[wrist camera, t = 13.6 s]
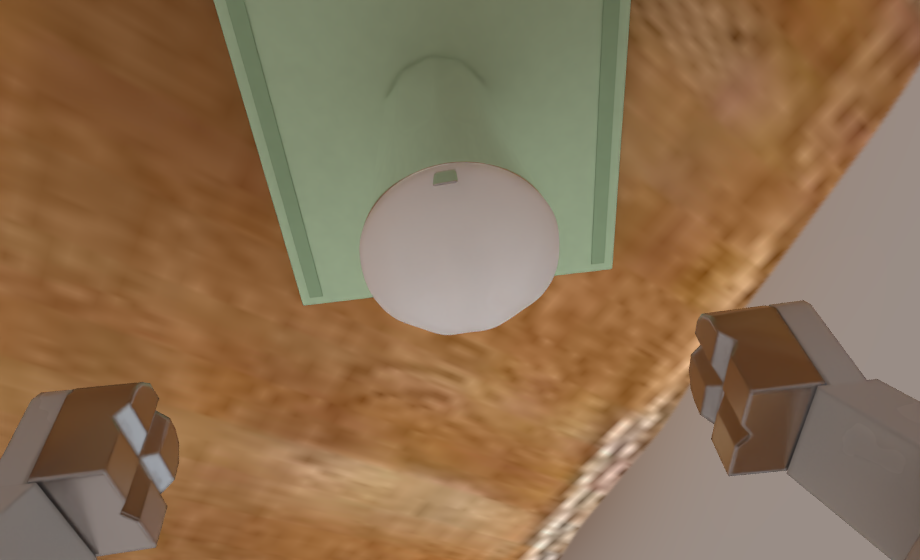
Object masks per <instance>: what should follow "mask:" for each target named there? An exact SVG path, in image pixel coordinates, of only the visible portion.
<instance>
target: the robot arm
mask: <svg viewBox="0 0 920 560" xmlns="http://www.w3.org/2000/svg"><path fill="white" fill-rule="evenodd" d="M695 334H696V336H697V338H698V340H699V342H700V344H701V345H700V346H699V347H698V348H697V349H696V350H695V351H694V352H693V353H692V354H691V359H690V367H689V376H690V386H691V391H692V394H693V398H694V401H695V403H696V406H697V408H698V410H699V413H700V415H701V416H703V417H704V418H706V419H707V420H709V421H710V422H712V423H713V424H714V429H713V434H712V438H711V439H712V442H713V443H714V446H715V448H716V450H717V452H718V455H719V457H720V459H721V461H722V463H723V465H724V468H725V469H726V472H727V474H728V476H736V475H746V474H756V473H767V472H776V471H787V474H788V475H789V476H790V477H792V478H793V479H794V480H795V481H797V482H798V483H799V484H800V485H801V486H803V487H804V488H805V489H806V490H807V491H809V492H810V493H811V494H812V495H813V496H815V497H816V498H817V499H818V500H819V501H821V502H822V503H823V504H824V505H826V506H827V507H828V508H829V509H830V510H832V511H833V512H834V513H835V514H836V515H838V516H839V517H840V518H841V519H843V520H844V521H845V522H846V523H847V524H849V525H850V526H851V527H852V528H854V529H855V530H856V531H857V532H858V533H860V534H861V535H862V536H863V537H864V538H866V539H867V540H868V541H869V542H871V543H872V544H873V545H874V546H875V547H877V548H878V549H879V550H880V551H881V552H883V553H884V554H885V555H886V556H888V557H889V558H890V559H891V560H920V402H919V401H917V400H916V399H913V398H912V397H910V396H908V395H906V394H904V393H902V392H901V391H899V390H897V389H895V388H893V387H891V386H889V385H887V384H885V383H884V382H882V381H880V380H878V379H874V380H866V378H865V377H864V376H863V374H862V373H861V372H860V371H859V369H858V368H857V366H856V365H855V364H854V362H853V361H852V359H851V358H850V357H849V355H848V354H847V353H846V351H845V350H844V349H843V347H842V346H841V345H840V343H839V342H838V340H837V339H836V338H835V336H834V335H833V334H832V332H831V331H830V330H829V328H828V327H827V326H826V324H825V323H824V322H823V320H822V319H821V317H820V316H819V315H818V313H817V312H816V311H815V309H814V308H813V307H812V305H811V304H809V303H808V302H805V301H804V300H803V301H795V302H787V303H780V304H772V305H769V306H758V307H750V308H742V309H735V310H727V311H719V312H712V313H704V314H701V316H700V317H699V319H698V321H697V326H696V331H695ZM158 400H159V397H158V396H157V394H156V392H155V391H154V389H153V387H152V386H151V384H150V383H144V382H139V383H128V384H118V385H108V386H97V387H87V388H77V389H74V390H63V391H53V392H42V393H40V394H39V395H37V396H36V397H35V398H33V399H32V400H31V402H30V403H29V405H28V407H27V409H26V411H25V413H24V415H23V417H22V419H21V421H20V423H19V425H18V427H17V428H16V430H15V432H14V434H13V436H12V438H11V440H10V442H9V444H8V446H7V448H6V450H5V452H4V454H3V456H2V457H1V459H0V560H97V558H96V556H103V555H109V554H116V553H123V552H129V551H136V550H142V549H149V548H155V547H156V546H157V542H158V539H159V535H160V531H161V528H162V524H163V520H164V517H165V513H166V510H167V505H166V503H165V501H164V499H163V498H162V496H161V493H162V492H163V491H164V490H165V489H166V488H167V487H168V486H169V485H170V484H171V483H172V482H173V481H174V480H175V476H176V472H177V468H178V464H179V441H178V437H177V433H176V429H175V427H174V425H173V423H172V421H171V420H170V418H169V417H167V416H165V415H163V414H161V413H159V412H158V411H156V407H157V404H158Z"/></svg>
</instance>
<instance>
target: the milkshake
mask: <svg viewBox="0 0 920 560" xmlns="http://www.w3.org/2000/svg"><path fill="white" fill-rule="evenodd" d="M359 252H360V262H361V268H362V272H363V276H364V279H365V282H366V284H367V286H368V289H369V291H370V292H371V294H372V296H373V297H374V298H375V300H376V301H377V302H378V304H379V305H380V306H381V307H382V308H383V309H384V310H385V311H386V312H387V313H388V314H390V315H391V316H392V317H394V318H396V319H397V320H399V321H401V322H404V323H407V324H409V325H413V326H416V327H419V328H422V329H425V330H428V331H431V332H434V333H437V334H442V335H454V334H460V333H467V332H476V331H484V330H488V329H491V328H494V327H496V326H498V325H500V324H502V323H504V322H506V321H507V320H509V319H510V318H512V317H513V316H515V315H516V314H518V313H519V312H521V311H522V310H523V309H525V308H526V307H528V306H529V305H531V304H532V303H533V302H535V301H536V300H537V299H538V298H539V297H540V296H541V295H542V294H543V293H544V292H545V291H546V289H547V288H548V286H549V285H550V283H551V281H552V279H553V277H554V275H555V272H556V269H557V265H558V260H559V230H558V225H557V221H556V218H555V215H554V213H553V211H552V209H551V208H550V206H549V205H548V203H547V202H546V200H545V198H544V197H543V195H542V193H541V191H540V189H539V188H538V186H537V184H536V182H535V181H534V179H533V177H532V175H531V173H530V172H529V170H528V168H527V166H526V165H525V163H524V161H523V159H522V157H521V155H520V153H519V151H518V149H517V147H516V145H515V143H514V141H513V139H512V137H511V134H510V132H509V130H508V128H507V126H506V124H505V122H504V120H503V118H502V116H501V114H500V112H499V110H498V108H497V106H496V104H495V102H494V100H493V98H492V96H491V94H490V92H489V90H488V88H487V86H486V84H485V83H484V82H483V81H482V80H481V79H480V78H479V77H478V76H477V75H476V74H475V73H474V72H473V71H472V70H471V69H470V68H469V67H468V66H467V65H466V64H465V63H464V62H463V61H461V60H454V59H446V58H440V57H433V56H429V57H427V58H425V59H423V60H421V61H419V62H417V63H415V64H413V65H411V66H409V67H407V68H405V69H403V70H401V71H400V72H399V74H398V76H397V79H396V81H395V83H394V85H393V87H392V89H391V91H390V93H389V95H388V97H387V99H386V102H385V108H384V114H383V120H382V126H381V133H380V139H379V145H378V152H377V158H376V165H375V171H374V178H373V183H372V188H371V192H370V197H369V202H368V206H367V211H366V215H365V220H364V224H363V229H362V233H361V238H360V245H359Z"/></svg>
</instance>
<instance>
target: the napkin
mask: <svg viewBox="0 0 920 560" xmlns="http://www.w3.org/2000/svg"><path fill="white" fill-rule="evenodd" d="M214 4H215V7H216V10H217V14H218V17H219V21H220V24H221V27H222V31H223V34H224V38H225V41H226V44H227V48H228V51H229V55H230V58H231V61H232V65H233V68H234V72H235V75H236V78H237V82H238V85H239V89H240V92H241V95H242V99H243V102H244V106H245V109H246V112H247V116H248V119H249V123H250V126H251V129H252V133H253V136H254V140H255V143H256V146H257V150H258V153H259V157H260V160H261V163H262V167H263V170H264V174H265V177H266V180H267V184H268V187H269V191H270V194H271V197H272V201H273V204H274V208H275V211H276V214H277V218H278V221H279V225H280V228H281V231H282V235H283V238H284V242H285V245H286V248H287V252H288V255H289V259H290V262H291V265H292V269H293V272H294V276H295V279H296V282H297V286H298V289H299V293H300V296H301V299H302V303H303V305H312V304H321V303H329V302H338V301H346V300H354V299H363V298H371V297H373V296H372V294H371V292H370V291H369V289H368V286H367V284H366V282H365V279H364V276H363V272H362V268H361V262H360V252H359V245H360V238H361V233H362V229H363V224H364V220H365V215H366V211H367V206H368V202H369V197H370V192H371V188H372V183H373V178H374V171H375V165H376V158H377V152H378V145H379V139H380V133H381V126H382V120H383V114H384V108H385V102H386V99H387V97H388V95H389V93H390V91H391V89H392V87H393V85H394V83H395V81H396V79H397V76H398V74H399V72H400V71H401V70H403V69H405V68H407V67H409V66H411V65H413V64H415V63H417V62H419V61H421V60H423V59H425V58H427V57H429V56H433V57H440V58H446V59H454V60H461V61H463V62H464V63H465V64H466V65H467V66H468V67H469V68H470V69H471V70H472V71H473V72H474V73H475V74H476V75H477V76H478V77H479V78H480V79H481V80H482V81H483V82H484V83H485V84H486V86H487V88H488V90H489V92H490V94H491V96H492V98H493V100H494V102H495V104H496V106H497V108H498V110H499V112H500V114H501V116H502V118H503V120H504V122H505V124H506V126H507V128H508V130H509V132H510V134H511V137H512V139H513V141H514V143H515V145H516V147H517V149H518V151H519V153H520V155H521V157H522V159H523V161H524V163H525V165H526V166H527V168H528V170H529V172H530V173H531V175H532V177H533V179H534V181H535V182H536V184H537V186H538V188H539V189H540V191H541V193H542V195H543V197H544V198H545V200H546V202H547V203H548V205H549V206H550V208H551V209H552V211H553V213H554V215H555V218H556V221H557V225H558V230H559V260H558V265H557V269H556V272H555V275H554V276H556V275H565V274H573V273H581V272H590V271H598V270H607V269H612V264H613V249H614V235H615V221H616V206H617V192H618V178H619V163H620V149H621V135H622V121H623V106H624V92H625V78H626V63H627V49H628V35H629V20H630V6H631V0H214Z"/></svg>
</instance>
